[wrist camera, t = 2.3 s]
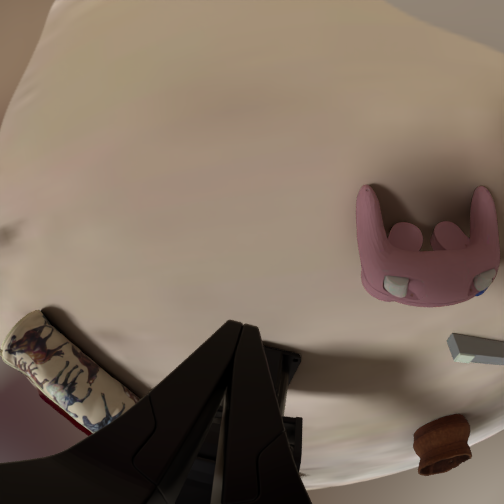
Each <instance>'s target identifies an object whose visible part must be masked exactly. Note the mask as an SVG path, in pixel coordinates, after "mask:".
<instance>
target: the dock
mask: <svg viewBox="0 0 504 504" xmlns="http://www.w3.org/2000/svg"><path fill="white" fill-rule="evenodd" d="M447 343H448V346H449V349H450V351H451V354H452V357H453V360H454V362H462V363H470V362H474V363H484V364H495V365H504V342H501V341H495V340H489V339H483V338H477V337H471V336H466V335H460V334H454V333H452V334H451V336H450V337H449V338H448V340H447Z"/></svg>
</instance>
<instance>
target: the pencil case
mask: <svg viewBox="0 0 504 504" xmlns="http://www.w3.org/2000/svg"><path fill="white" fill-rule="evenodd" d="M0 350H1V351H0V356H2V358H3V361H4V362H5V363H6V364H8V365H10V366H12V367H13V368H15V369H17V370H18V371H19V372H21V373H22V374H24V375H25V376H26V377H28V378H29V379H30V380H31V381H32V382H33V383H34V384H35V385H36V386H37V387H38V388H39V389H40V390H41V391H42V392H43V393H44V394H45V395H46V396H47V397H49V398H50V399H51V400H52V401H54V402H55V403H56V404H57V405H59V406H60V407H61V408H62V409H64V410H65V411H66V412H67V413H68V414H69V415H70V416H72V417H73V418H74V419H75V420H76V421H78V422H79V423H80V424H82V425H83V426H84V427H85V428H87V429H88V430H90V431H91V432H92V433H95V432H96V431H98V430H100V429H101V428H103V427H104V426H106V425H108V424H109V423H111V422H112V421H113V420H115V419H116V418H118V417H119V416H121V415H122V414H123V413H125V412H126V411H127V410H128V409H130V408H131V407H132V406H133V405H135V404H136V403H137V402H138V401H139V400H140V398H139V397H137V396H136V395H135V394H134V393H133V392H131V391H130V390H129V389H128V388H126V387H125V386H124V385H122V384H121V383H120V382H119V381H117V380H116V379H114V378H112V377H111V376H110V375H109V374H108V373H107V372H105V371H104V370H103V369H102V368H101V367H100V366H98V365H97V364H96V363H95V362H94V361H93V360H92V359H90V358H89V357H88V356H87V355H85V354H84V353H82V352H81V350H80V349H79V348H78V347H76V346H75V345H74V344H73V343H71V342H70V341H69V340H68V339H67V338H66V337H64V336H63V335H62V334H61V333H60V332H59V331H58V330H57V329H56V328H55V327H53V326H51V324H50V323H49V321H48V320H47V318H46V317H45V316H44V314H43V313H42V312H41V311H40V310H35V311H33V312H30V313H29V314H27V315H26V316H24V317H23V318H22V319H21V320H20V321H19V322H18V323H17V324H16V325H15V326H14V327H13V328H12V329H11V331H10V332H9V333H8V335H7V336H6V338H5V340H4V341H3V343H2V345H1V348H0Z"/></svg>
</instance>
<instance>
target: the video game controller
mask: <svg viewBox="0 0 504 504" xmlns="http://www.w3.org/2000/svg"><path fill="white" fill-rule="evenodd" d="M356 223H357V241H358V248H359V254H360V260H361V266H362V271H361V280H362V284H363V286H364V288H365V289H366V291H367V292H368V293H369V294H370V295H372V296H373V297H375V298H377V299H379V300H382V301H387V302H391V301H396V302H399V303H402V304H406V305H411V306H417V307H442V306H449V305H454V304H458V303H461V302H464V301H467V300H469V299H471V298H473V297H474V296H479V295H481V294H483V293H484V292H485V290H486V289H487V288H488V287H489V285H490V284H491V283H492V282H493V280H494V279H495V277H496V274H497V271H498V267H499V263H500V246H499V234H498V224H497V215H496V208H495V204H494V200H493V198H492V196H491V194H490V192H489V191H488V190H487V189H486V188H485V187H484V186H479V187H477V188H476V189H475V191H474V194H473V197H472V202H471V211H470V237H469V238H468V237H467V236H466V235H465V234H464V233H463V232H462V230H461V229H460V228H459V227H458V226H457V225H456V224H454V223H452V222H449V221H443V222H440V223H438V224H437V225H436V227H435V229H434V231H433V234H432V236H431V239H430V243H431V246H432V249H433V250H434V251H420V249H421V246H422V244H423V236H422V233H421V231H420V229H419V228H418V227H417V226H415V225H413V224H411V223H407V222H400V223H396V224H395V225H394V226H393V227H392V229H391V231H390V233H389V236H388V238H387V236H386V232H385V229H384V226H383V220H382V215H381V210H380V205H379V201H378V198H377V196H376V194H375V192H374V190H373V189H372V188H371V187H370V186H369V185H363V186H362V187H361V189H360V191H359V193H358V196H357V203H356Z"/></svg>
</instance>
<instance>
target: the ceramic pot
mask: <svg viewBox="0 0 504 504" xmlns="http://www.w3.org/2000/svg"><path fill="white" fill-rule="evenodd" d="M469 435H470V425H469V423H468V421H467V420H466V419H465V417H464V416H463V415H461V414H454V415H449V416H445V417H442V418H439V419H436V420H434V421H432V422H430V423H427V424H425V425H424V426H422V427H420V428H419V429H418V430H417V431H416V432H415V433H414V444H413V448H414V450H415V452H416V454H417V455H418V456H419V457H420V463H419V468H418V473H419V474H420V475H424V476H429V475H434V474H439V473H444V472H447V471H449V470H451V469H452V468H455V467H457V466H458V465H459V464H461V463H462V462H465V461H466V460H468V459H471V457H472V454H471V450H470V447H469V446H468V444H467V442H468V438H469Z"/></svg>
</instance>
